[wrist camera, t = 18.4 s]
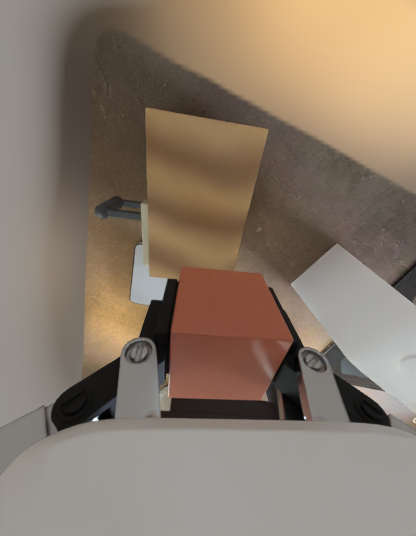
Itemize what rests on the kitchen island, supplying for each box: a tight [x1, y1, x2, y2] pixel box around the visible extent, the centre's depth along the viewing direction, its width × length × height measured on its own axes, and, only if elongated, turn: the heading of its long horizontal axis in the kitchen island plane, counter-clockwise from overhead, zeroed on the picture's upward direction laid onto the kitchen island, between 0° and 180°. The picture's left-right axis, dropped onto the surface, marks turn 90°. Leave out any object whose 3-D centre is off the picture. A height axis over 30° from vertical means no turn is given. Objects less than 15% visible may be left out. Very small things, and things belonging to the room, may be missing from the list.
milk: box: [291, 243, 416, 414], centre depth 31 cm, size 12×12×26 cm
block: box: [168, 266, 293, 400], centre depth 10 cm, size 5×5×5 cm
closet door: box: [95, 196, 149, 266], centre depth 27 cm, size 8×7×11 cm
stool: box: [161, 384, 280, 420], centre depth 44 cm, size 16×21×33 cm
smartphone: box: [130, 242, 168, 306], centre depth 40 cm, size 7×1×15 cm
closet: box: [145, 108, 268, 280], centre depth 26 cm, size 16×12×14 cm
